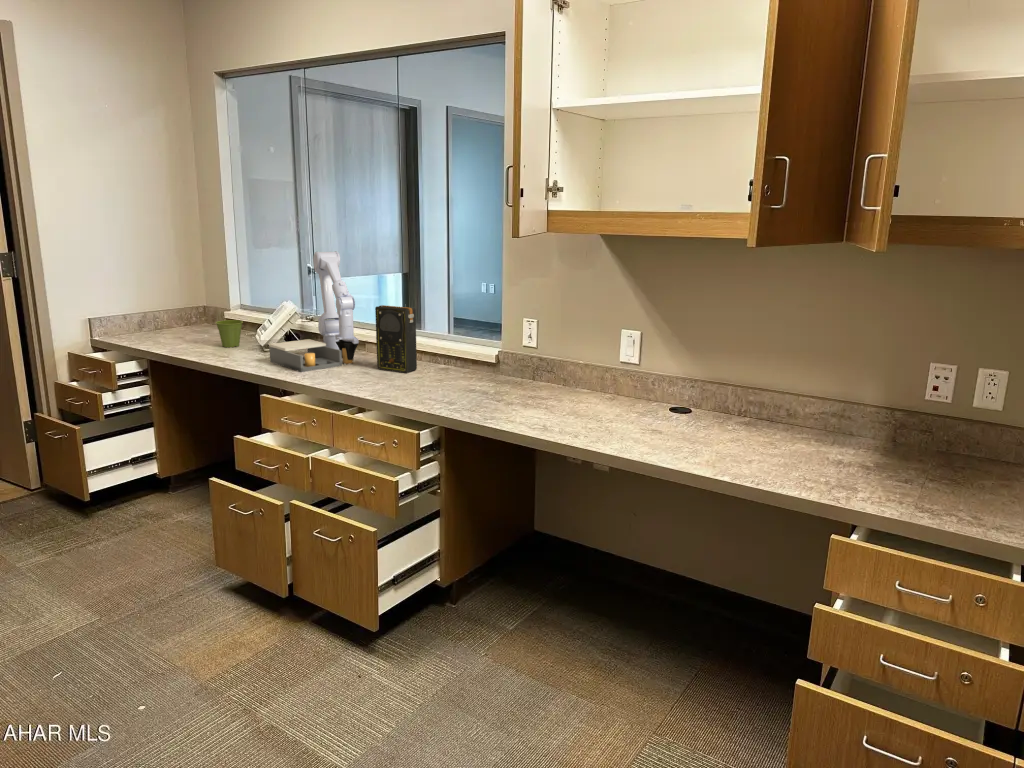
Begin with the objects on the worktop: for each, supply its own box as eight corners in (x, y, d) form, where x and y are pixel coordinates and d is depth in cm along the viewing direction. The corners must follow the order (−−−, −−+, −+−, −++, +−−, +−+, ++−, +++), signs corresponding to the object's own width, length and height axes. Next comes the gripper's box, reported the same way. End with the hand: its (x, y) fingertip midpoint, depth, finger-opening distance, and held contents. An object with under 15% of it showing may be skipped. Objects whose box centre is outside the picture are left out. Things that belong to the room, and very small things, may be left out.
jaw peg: (349, 361, 301) (348, 347, 300) (354, 362, 299) (354, 348, 297) (340, 362, 299) (340, 348, 297) (346, 364, 296) (345, 349, 295)
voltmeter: (374, 369, 286) (372, 306, 280) (388, 365, 293) (386, 304, 288) (406, 374, 278) (404, 309, 273) (419, 370, 286) (418, 306, 280)
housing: (310, 356, 311) (309, 341, 309) (342, 365, 292) (341, 350, 291) (270, 361, 299) (269, 346, 297) (301, 372, 280) (300, 356, 279)
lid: (309, 343, 309) (309, 339, 309) (326, 348, 300) (326, 343, 299) (269, 348, 297) (269, 343, 297) (285, 353, 287) (285, 348, 287)
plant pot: (219, 349, 324) (217, 324, 322) (215, 345, 334) (213, 321, 332) (247, 347, 330) (245, 322, 327) (242, 343, 340) (240, 319, 337)
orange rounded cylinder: (312, 367, 289) (311, 352, 288) (317, 368, 287) (316, 353, 285) (303, 368, 287) (302, 353, 285) (308, 370, 284) (307, 355, 283)
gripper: (328, 324, 298) (329, 357, 301) (347, 329, 287) (348, 362, 290) (343, 323, 302) (344, 355, 305) (362, 327, 292) (363, 360, 295)
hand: (347, 358), depth 298 cm, fingers closed on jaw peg, 4 cm apart
